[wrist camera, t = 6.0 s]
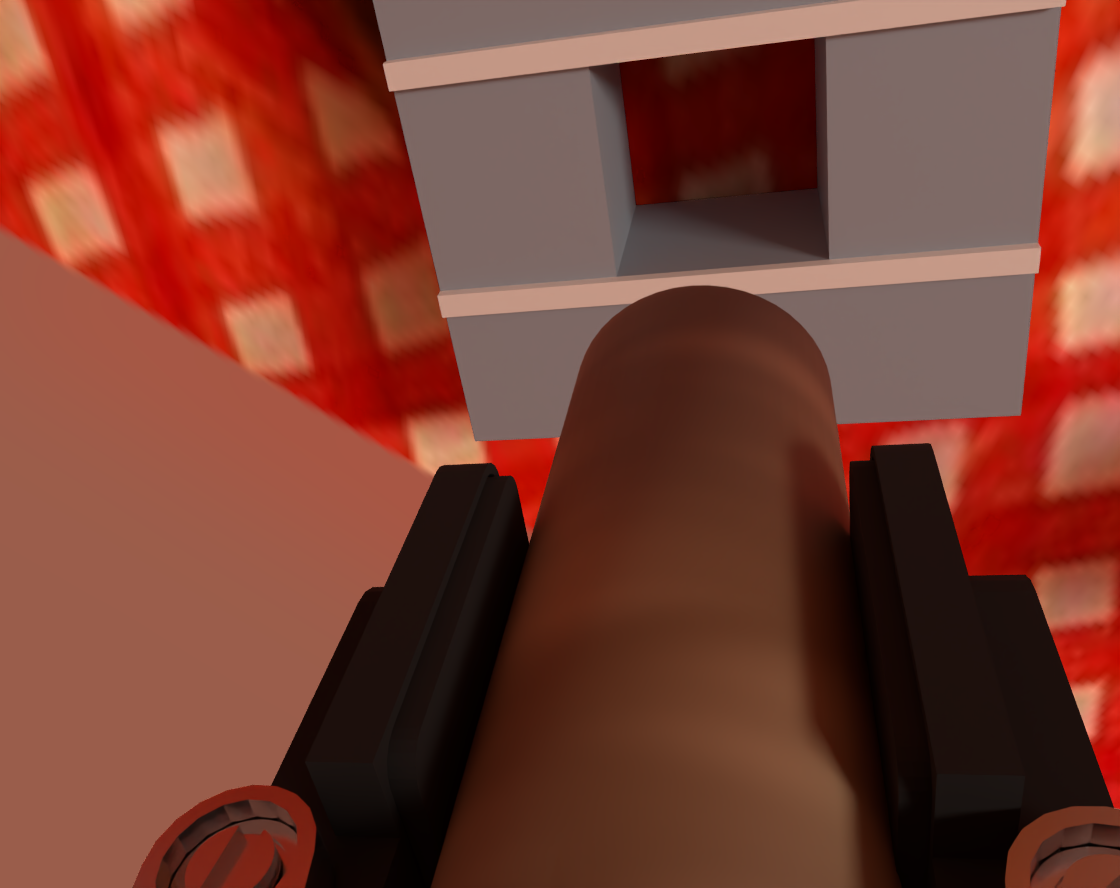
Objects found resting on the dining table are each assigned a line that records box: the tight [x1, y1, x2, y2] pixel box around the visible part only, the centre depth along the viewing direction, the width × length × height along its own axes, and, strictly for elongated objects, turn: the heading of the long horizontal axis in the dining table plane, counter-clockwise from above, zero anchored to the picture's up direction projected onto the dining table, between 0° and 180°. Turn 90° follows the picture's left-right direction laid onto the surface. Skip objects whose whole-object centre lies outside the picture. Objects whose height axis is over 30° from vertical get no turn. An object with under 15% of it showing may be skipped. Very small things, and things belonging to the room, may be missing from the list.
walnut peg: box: [431, 285, 902, 888], centre depth 9 cm, size 4×4×12 cm
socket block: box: [373, 0, 1066, 441], centre depth 25 cm, size 14×14×5 cm
